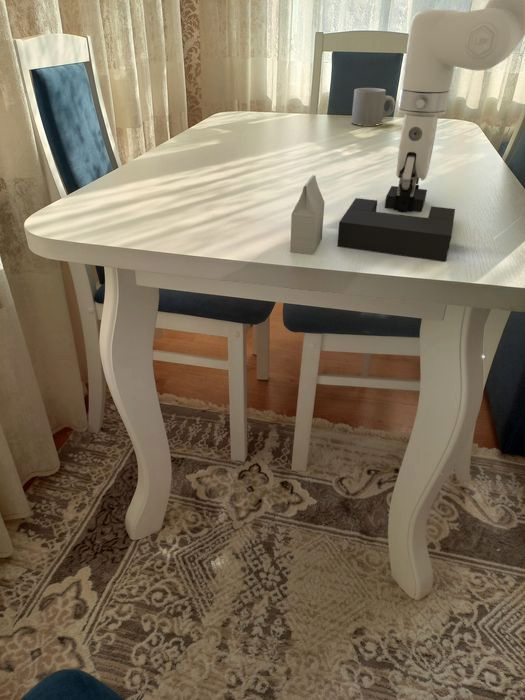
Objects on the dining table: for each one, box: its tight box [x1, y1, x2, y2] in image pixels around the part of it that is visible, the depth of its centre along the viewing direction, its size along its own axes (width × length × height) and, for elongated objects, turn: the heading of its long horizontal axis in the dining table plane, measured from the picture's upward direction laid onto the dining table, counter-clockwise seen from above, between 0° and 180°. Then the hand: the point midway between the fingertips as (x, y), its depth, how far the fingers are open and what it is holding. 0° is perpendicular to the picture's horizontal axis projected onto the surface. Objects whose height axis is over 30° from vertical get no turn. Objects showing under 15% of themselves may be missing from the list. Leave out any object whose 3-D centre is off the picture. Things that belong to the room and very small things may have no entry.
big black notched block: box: [336, 197, 456, 262], centre depth 79 cm, size 16×13×4 cm
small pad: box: [384, 185, 428, 213], centre depth 89 cm, size 6×6×4 cm
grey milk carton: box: [289, 174, 326, 255], centre depth 75 cm, size 4×7×10 cm, turn 164°
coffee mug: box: [350, 87, 396, 125], centre depth 160 cm, size 13×10×10 cm
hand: (404, 210), depth 89 cm, fingers closed on small pad, 6 cm apart
